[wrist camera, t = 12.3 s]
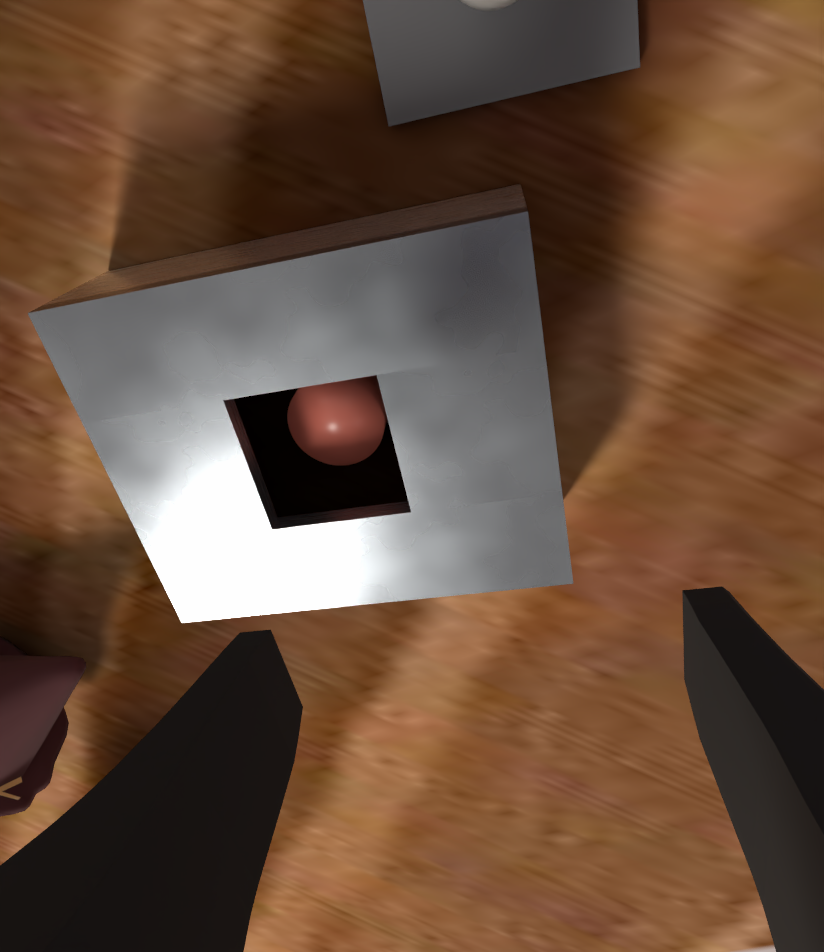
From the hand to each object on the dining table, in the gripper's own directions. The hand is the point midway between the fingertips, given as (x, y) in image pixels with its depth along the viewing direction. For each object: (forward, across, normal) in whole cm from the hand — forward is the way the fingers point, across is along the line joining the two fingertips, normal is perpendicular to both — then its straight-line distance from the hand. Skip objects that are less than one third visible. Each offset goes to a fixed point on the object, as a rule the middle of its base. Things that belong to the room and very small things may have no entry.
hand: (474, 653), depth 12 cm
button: (+10, +4, -1) cm, 11 cm away
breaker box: (+10, +4, -1) cm, 11 cm away
